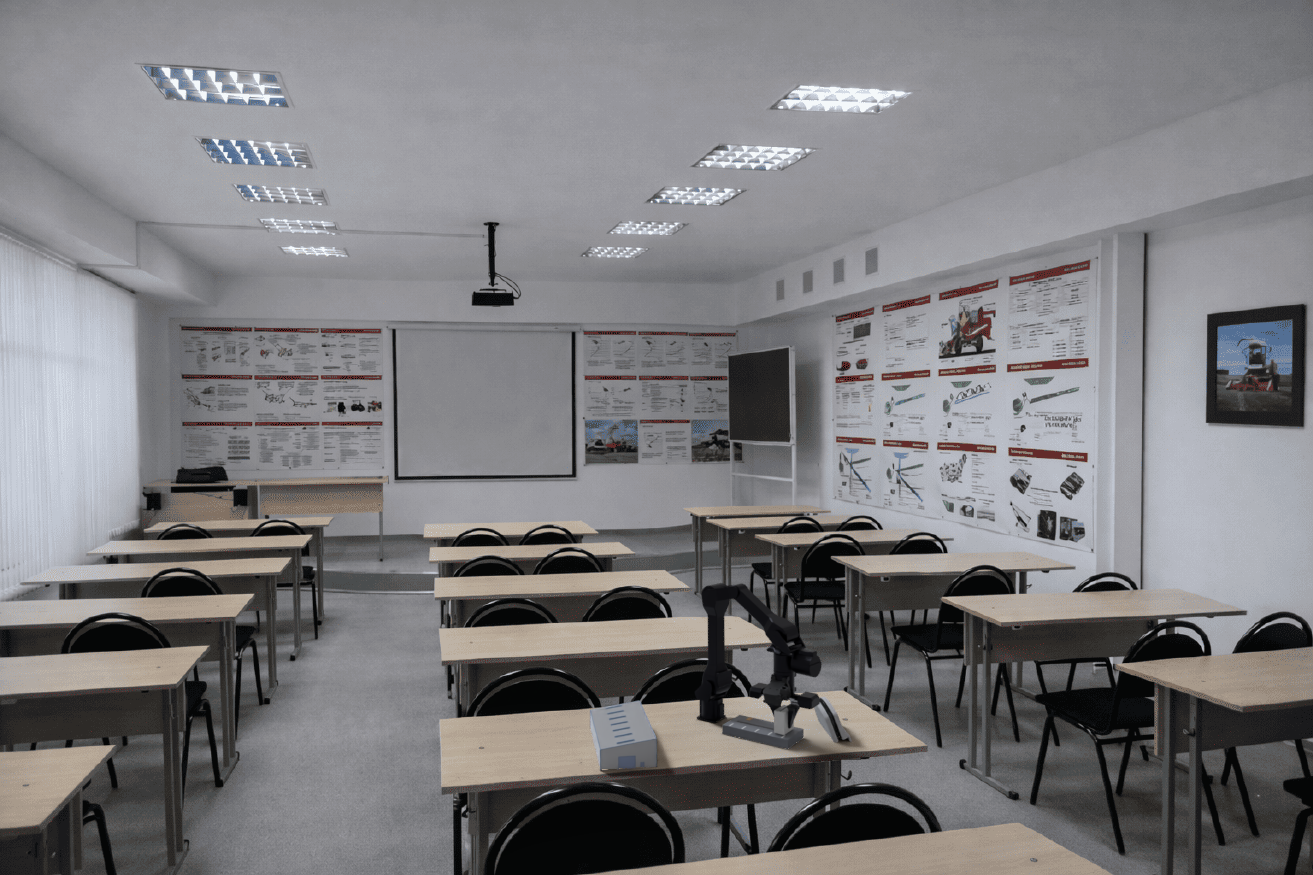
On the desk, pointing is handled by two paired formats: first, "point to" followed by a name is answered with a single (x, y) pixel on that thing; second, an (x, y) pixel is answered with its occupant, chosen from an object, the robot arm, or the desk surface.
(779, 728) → the fader knob
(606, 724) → the warehouse
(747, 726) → the fader board
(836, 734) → the grey curved piece
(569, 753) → the desk surface
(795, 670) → the robot arm
